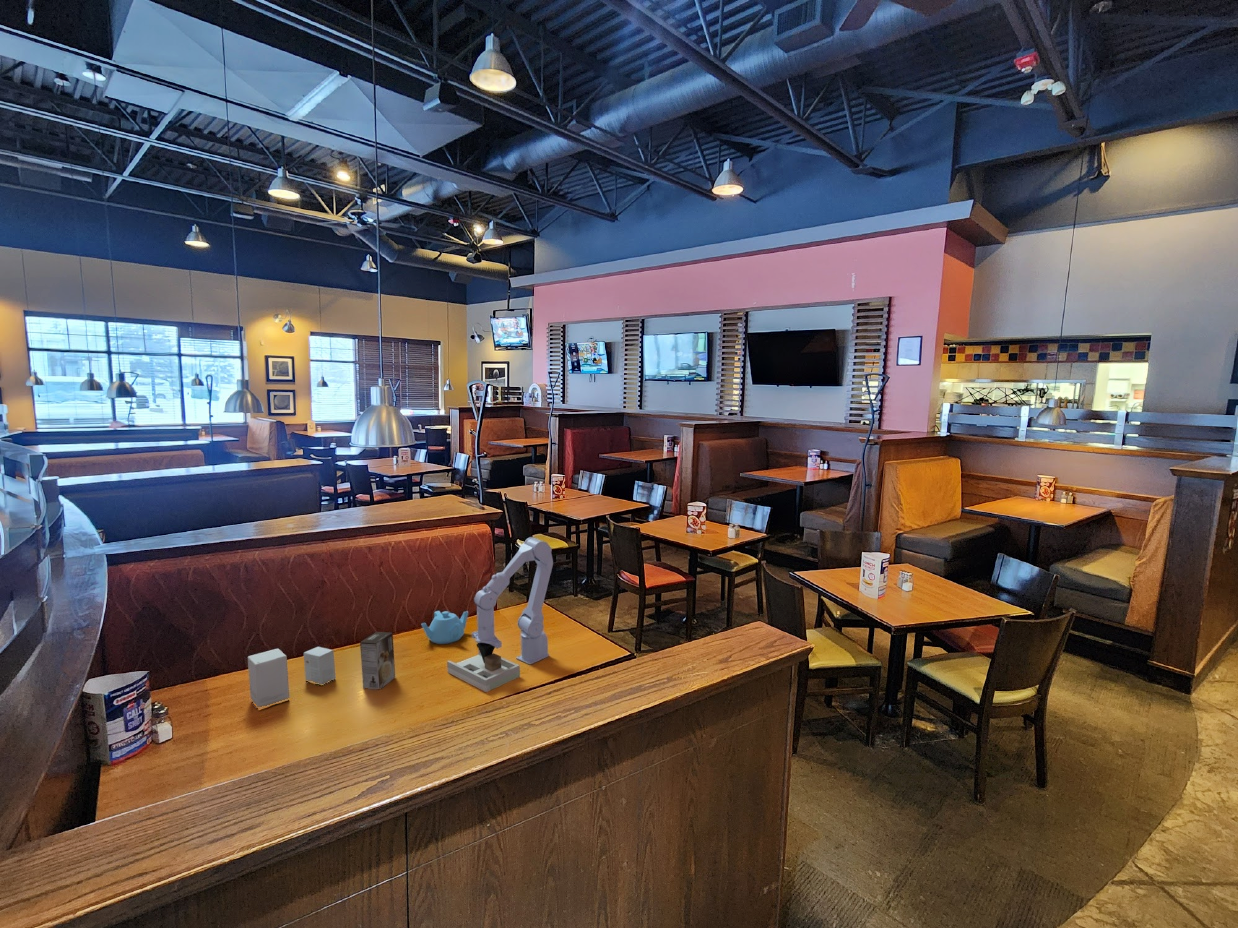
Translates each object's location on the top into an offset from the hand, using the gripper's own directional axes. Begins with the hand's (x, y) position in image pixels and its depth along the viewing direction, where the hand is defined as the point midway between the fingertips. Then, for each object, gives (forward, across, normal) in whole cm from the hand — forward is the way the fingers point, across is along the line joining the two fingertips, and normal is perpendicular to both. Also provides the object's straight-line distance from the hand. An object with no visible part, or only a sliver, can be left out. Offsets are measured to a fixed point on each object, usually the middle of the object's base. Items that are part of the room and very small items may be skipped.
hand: (487, 662), depth 201 cm
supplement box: (+3, -35, -57) cm, 67 cm away
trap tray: (+3, +1, -3) cm, 4 cm away
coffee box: (+3, -20, -29) cm, 35 cm away
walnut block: (+1, +3, 0) cm, 4 cm away
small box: (+3, -37, -41) cm, 56 cm away
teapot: (+3, -36, +7) cm, 37 cm away
